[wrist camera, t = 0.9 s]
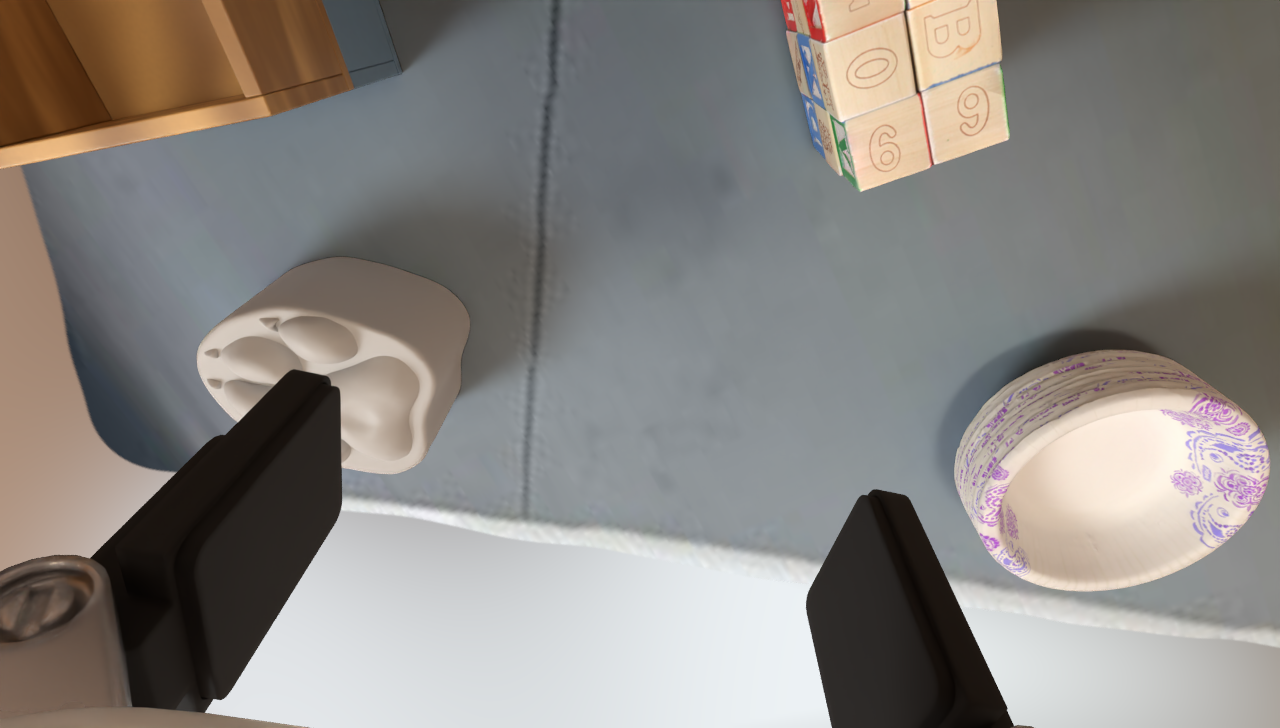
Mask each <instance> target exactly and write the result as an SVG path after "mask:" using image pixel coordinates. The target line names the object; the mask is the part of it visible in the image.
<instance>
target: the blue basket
mask: <svg viewBox="0 0 1280 728" xmlns="http://www.w3.org/2000/svg"><path fill="white" fill-rule="evenodd" d="M322 2H323V5H324V7H325V10H326V13H327V16H328V18H329V21H330V24H331V26H332V29H333V32H334V34H335V37H336V40H337V43H338V45H339V48H340V51H341V53H342V56H343V59H344V61H345V64H346V67H347V70H348V72H349V75H350V78H351V80H352V83H353V86H354V89H356V88H359V87H362V86H365V85H368V84H371V83H374V82H377V81H380V80H383V79H386V78H389V77H393V76H396V75H399V74H402V70H401V67H400V64H399V61H398V58H397V55H396V52H395V49H394V46H393V43H392V40H391V37H390V34H389V31H388V28H387V25H386V22H385V19H384V16H383V13H382V10H381V7H380V4H379V1H378V0H322Z"/></svg>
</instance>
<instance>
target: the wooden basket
mask: <svg viewBox="0 0 1280 728" xmlns="http://www.w3.org/2000/svg"><path fill="white" fill-rule="evenodd" d="M353 89H354V86H353V83H352V80H351V78H350V75H349V72H348V70H347V67H346V64H345V61H344V59H343V56H342V53H341V51H340V48H339V45H338V43H337V40H336V37H335V34H334V32H333V29H332V26H331V24H330V21H329V18H328V16H327V13H326V10H325V7H324V5H323V2H322V0H0V169H4V168H9V167H14V166H20V165H25V164H30V163H35V162H40V161H45V160H50V159H55V158H60V157H66V156H71V155H76V154H81V153H86V152H91V151H96V150H101V149H106V148H111V147H117V146H122V145H127V144H132V143H137V142H142V141H147V140H152V139H157V138H162V137H168V136H173V135H178V134H183V133H188V132H193V131H198V130H203V129H208V128H213V127H218V126H224V125H229V124H234V123H239V122H244V121H249V120H254V119H259V118H264V117H269V116H273V115H276V114H279V113H282V112H286V111H289V110H292V109H295V108H298V107H301V106H304V105H307V104H310V103H313V102H316V101H319V100H322V99H325V98H328V97H331V96H334V95H338V94H341V93H344V92H347V91H350V90H353Z"/></svg>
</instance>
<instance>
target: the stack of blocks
mask: <svg viewBox="0 0 1280 728" xmlns="http://www.w3.org/2000/svg"><path fill="white" fill-rule="evenodd" d="M781 3H782V7H783V12H784V15H785V20H786V24H787V27H788V29H787V31H786V36H787V40H788V44H789V49H790V53H791V57H792V61H793V66H794V70H795V74H796V78H797V82H798V86H799V90H800V92H801V95H802V99H803V104H804V108H805V113H806V117H807V121H808V125H809V129H810V133H811V137H812V141H813V145H814V147H815V149H816V150H817V151H818V152H819V153H820V154H821V155H822V156H823V158H824V159H825V160H826V161H827V163H828V164H829V165H830V166H831V167H832V168H833V169H834V170H835V171H836V172H837V173H838V174H839V175H841V176H842V175H844V177H845V178H846V179H847V180H848V181H849V182H850V183H851V184H852V185H853V187H855V188H856V189H857V190H858V191H859V192H861V191H864V190H867V189H870V188H873V187H876V186H879V185H882V184H885V183H887V182H890V181H893V180H896V179H899V178H902V177H905V176H908V175H911V174H914V173H917V172H920V171H923V170H926V169H929V168H930V167H931V166H932V165H935V164H939V163H942V162H945V161H948V160H951V159H954V158H957V157H960V156H963V155H966V154H969V153H971V152H974V151H976V150H979V149H983V148H986V147H988V146H991V145H994V144H997V143H1000V142H1003V141H1005V140H1008V139H1009V134H1010V130H1009V123H1008V114H1007V106H1006V97H1005V86H1004V79H1003V72H1002V68H1001V65H1000V62H1001V60H1002V47H1001V38H1000V27H999V18H998V10H997V2H996V0H781Z"/></svg>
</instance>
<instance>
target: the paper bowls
mask: <svg viewBox="0 0 1280 728" xmlns="http://www.w3.org/2000/svg"><path fill="white" fill-rule="evenodd" d="M1269 472H1270V456H1269V450H1268V446H1267V443H1266V440H1265V438H1264V435H1263V433H1262V432H1261V430H1260V428H1259V427H1258V426H1257V424H1256V423H1255V422H1254V421H1253V419H1252V418H1251V417H1250V416H1249V415H1248V414H1247V413H1246V412H1245V411H1244V410H1242V409H1241V408H1240V407H1239V406H1238V405H1237V404H1235V403H1234V402H1232V401H1231V400H1230V399H1228V398H1227V397H1225V396H1224V395H1223V394H1222V393H1220V392H1219V391H1217V390H1216V389H1214V388H1213V387H1212V386H1210V385H1209V384H1208V383H1206V382H1205V381H1204V380H1202V379H1201V378H1199V377H1198V376H1196V375H1195V374H1194V373H1193V372H1191V371H1190V370H1188V369H1186V368H1185V367H1184V366H1182V365H1180V364H1179V363H1177V362H1175V361H1173V360H1171V359H1169V358H1166V357H1163V356H1160V355H1156V354H1150V353H1146V352H1141V351H1134V350H1098V351H1092V352H1086V353H1081V354H1076V355H1072V356H1068V357H1065V358H1061V359H1059V360H1057V361H1054V362H1050V363H1048V364H1045V365H1043V366H1040V367H1038V368H1036V369H1033V370H1031V371H1029V372H1027V373H1026V374H1024V375H1022V376H1021V377H1019V378H1017V379H1015V380H1014V381H1012V382H1011V383H1009V384H1007V385H1005V386H1004V387H1003V388H1002V389H1001V390H1000V391H999V392H998V393H996V394H995V395H994V396H993V397H992V398H991V399H990V400H988V401H987V402H986V403H985V404H984V405H983V407H982V408H981V410H980V411H979V412H978V414H977V415H976V417H975V418H974V419H973V421H972V422H971V423H970V425H969V426H968V428H967V429H966V431H965V433H964V435H963V438H962V440H961V441H960V447H959V448H958V449H957V453H956V458H955V465H954V476H955V483H956V487H957V491H958V493H959V496H960V498H961V500H962V503H963V505H964V507H965V509H966V511H967V513H968V515H969V517H970V519H971V521H972V522H973V524H974V527H975V528H976V530H977V532H978V534H979V536H980V537H981V539H982V541H983V543H984V546H985V547H986V548H987V550H988V552H989V553H990V554H991V555H992V557H993V558H994V559H995V560H996V561H997V562H998V563H999V564H1001V565H1002V566H1003V567H1004V568H1006V569H1007V570H1008V571H1010V572H1011V573H1013V574H1015V575H1017V576H1018V577H1020V578H1022V579H1024V580H1027V581H1029V582H1032V583H1034V584H1038V585H1041V586H1045V587H1048V588H1054V589H1060V590H1068V591H1102V590H1111V589H1118V588H1124V587H1129V586H1134V585H1138V584H1142V583H1146V582H1149V581H1152V580H1156V579H1158V578H1161V577H1164V576H1167V575H1169V574H1172V573H1174V572H1176V571H1178V570H1180V569H1183V568H1185V567H1187V566H1189V565H1191V564H1192V563H1194V562H1196V561H1198V560H1200V559H1201V558H1203V557H1205V556H1206V555H1208V554H1209V553H1211V552H1212V551H1214V550H1215V549H1216V548H1218V547H1219V546H1221V545H1222V544H1223V543H1225V542H1226V541H1227V540H1228V539H1229V538H1230V537H1231V536H1232V535H1234V534H1235V533H1236V532H1237V531H1238V530H1239V529H1240V528H1241V527H1242V526H1243V524H1244V523H1245V522H1246V521H1247V520H1248V519H1249V517H1250V516H1251V515H1252V513H1253V512H1254V511H1255V509H1256V507H1257V506H1258V504H1259V502H1260V501H1261V498H1262V496H1263V495H1264V492H1265V489H1266V487H1267V482H1268V479H1269Z"/></svg>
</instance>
